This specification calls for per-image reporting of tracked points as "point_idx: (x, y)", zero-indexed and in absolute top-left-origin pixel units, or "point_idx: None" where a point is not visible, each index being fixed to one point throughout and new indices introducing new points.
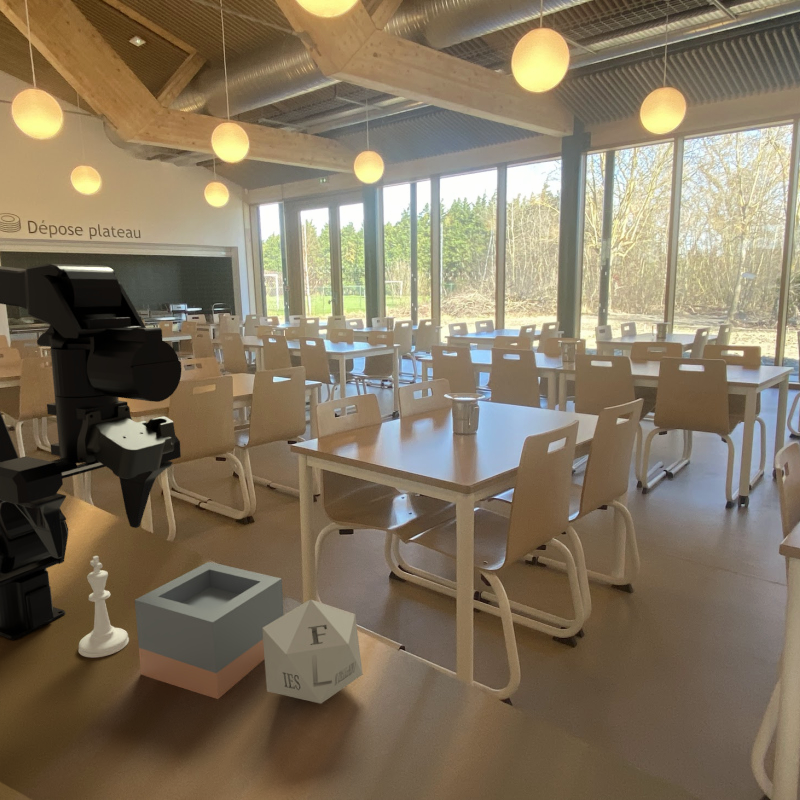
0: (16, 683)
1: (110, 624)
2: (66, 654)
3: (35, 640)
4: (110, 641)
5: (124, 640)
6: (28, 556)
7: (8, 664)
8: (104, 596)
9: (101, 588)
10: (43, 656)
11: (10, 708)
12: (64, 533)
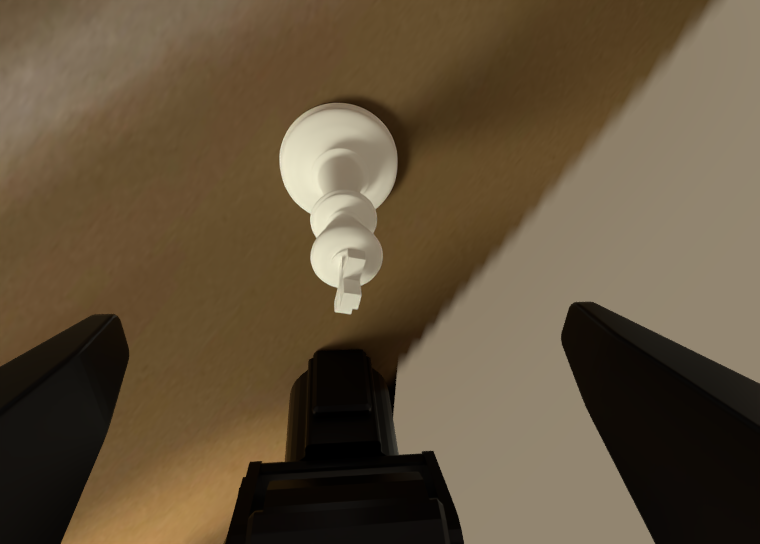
0: (524, 199)
1: (323, 170)
2: (405, 206)
3: (391, 308)
4: (350, 130)
5: (317, 112)
6: (383, 488)
7: (476, 274)
8: (348, 195)
9: (350, 217)
10: (430, 242)
11: (599, 127)
12: (261, 525)
